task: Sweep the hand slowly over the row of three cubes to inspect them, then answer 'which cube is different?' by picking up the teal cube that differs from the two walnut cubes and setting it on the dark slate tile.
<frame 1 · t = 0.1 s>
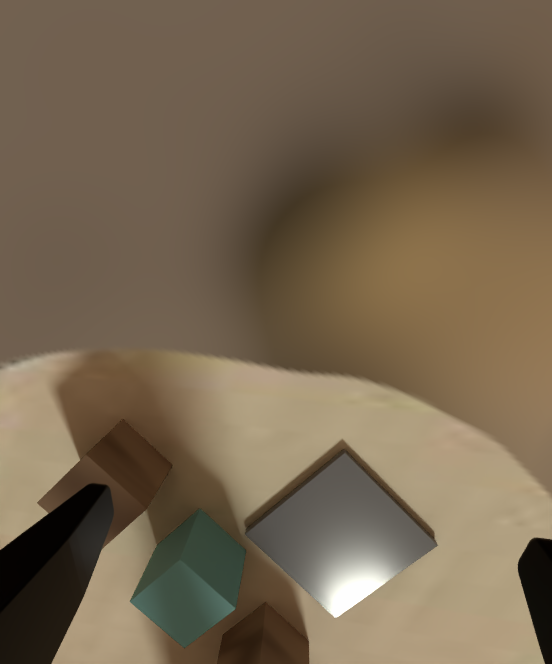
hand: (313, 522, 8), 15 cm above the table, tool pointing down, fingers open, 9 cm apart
slate tile: (339, 534, 26), on the table
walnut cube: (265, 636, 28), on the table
teal cube: (201, 547, 27), on the table
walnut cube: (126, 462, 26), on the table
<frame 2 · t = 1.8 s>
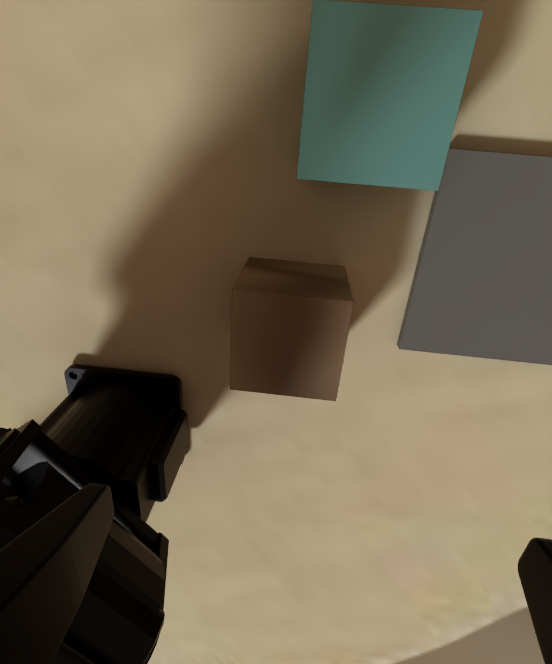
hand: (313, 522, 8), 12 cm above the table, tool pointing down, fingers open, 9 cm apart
slate tile: (519, 267, 17), on the table
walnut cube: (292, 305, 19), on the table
teal cube: (362, 113, 15), on the table
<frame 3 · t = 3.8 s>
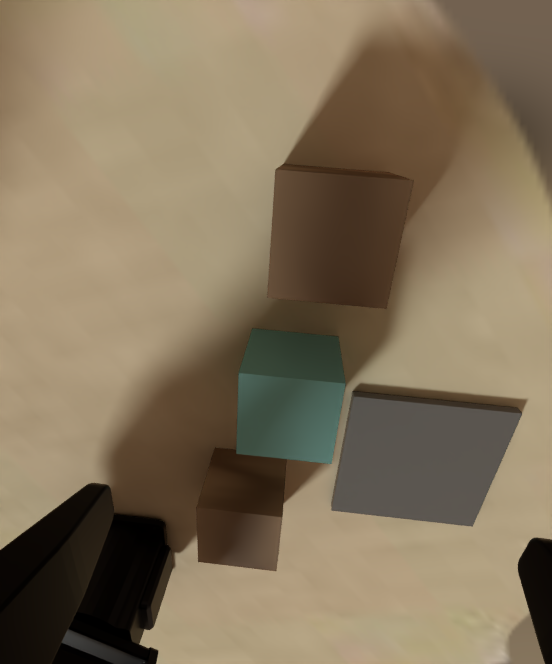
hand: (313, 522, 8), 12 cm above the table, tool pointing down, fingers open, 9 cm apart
slate tile: (415, 460, 23), on the table
teal cube: (291, 368, 21), on the table
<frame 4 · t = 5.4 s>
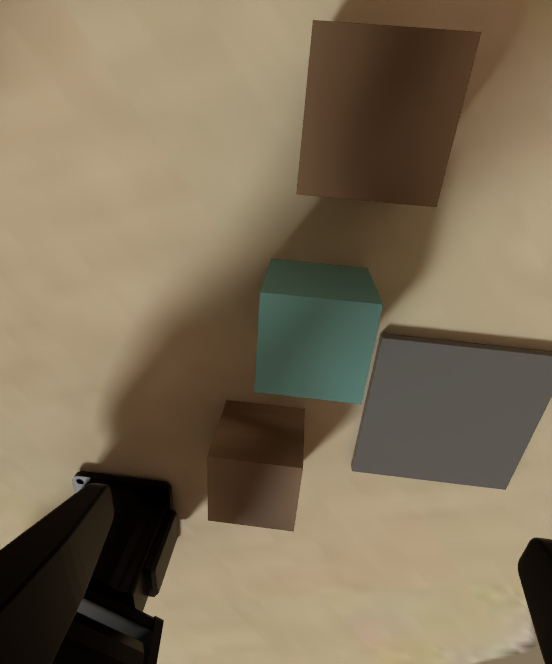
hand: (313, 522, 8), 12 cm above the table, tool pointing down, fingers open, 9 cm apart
slate tile: (446, 414, 21), on the table
teal cube: (313, 307, 19), on the table
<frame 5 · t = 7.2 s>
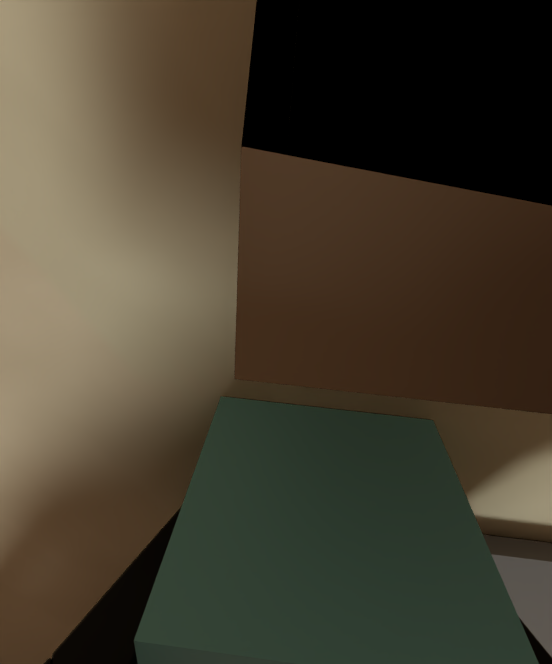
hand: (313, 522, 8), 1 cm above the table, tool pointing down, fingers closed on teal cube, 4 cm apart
teal cube: (313, 483, 9), on the table, touching gripper
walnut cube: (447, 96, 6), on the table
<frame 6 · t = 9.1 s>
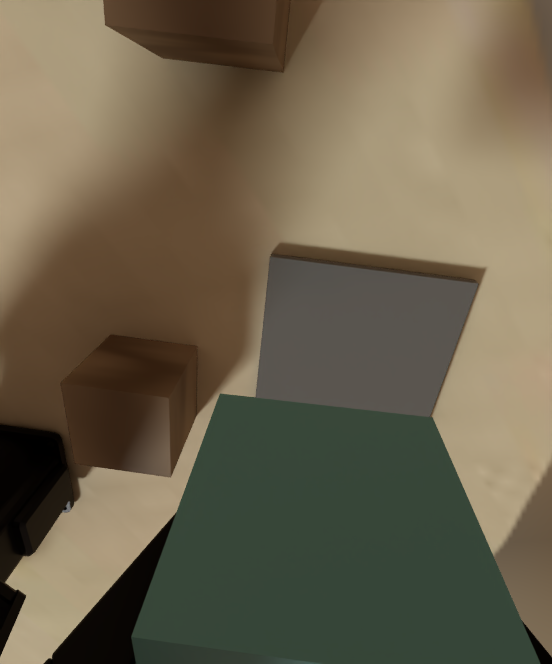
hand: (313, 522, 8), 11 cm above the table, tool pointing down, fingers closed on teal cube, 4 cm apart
slate tile: (351, 354, 19), on the table
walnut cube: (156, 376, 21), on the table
teal cube: (312, 481, 9), point 10 cm above the table, touching gripper
when the fingers open (3 cm above the table, at t = 11.1 s): teal cube drops 1 cm, resting on slate tile.
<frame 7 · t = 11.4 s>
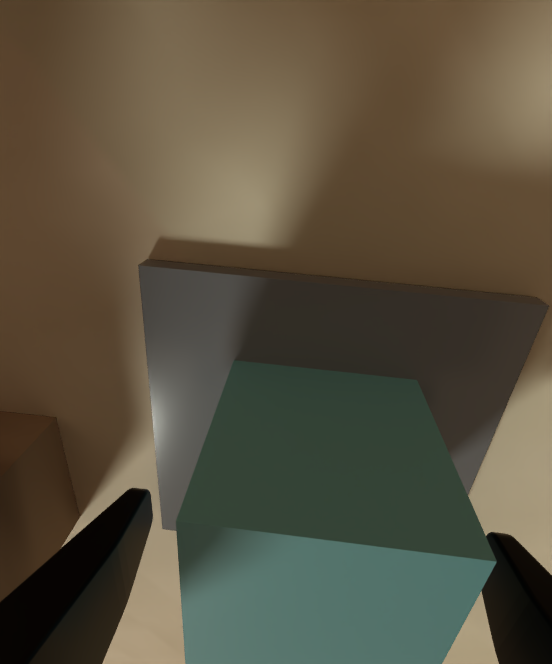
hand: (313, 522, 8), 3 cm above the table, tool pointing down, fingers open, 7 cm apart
slate tile: (314, 428, 11), on the table
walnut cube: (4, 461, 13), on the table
teal cube: (313, 439, 10), resting on slate tile
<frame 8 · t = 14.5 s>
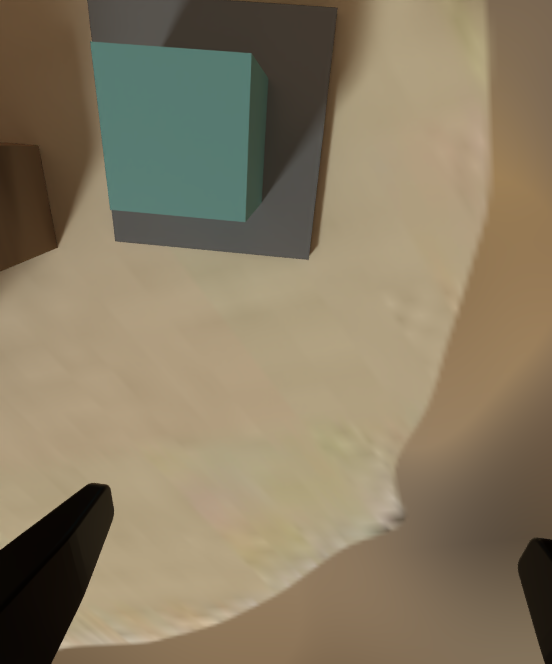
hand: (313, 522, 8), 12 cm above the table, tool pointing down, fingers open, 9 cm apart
slate tile: (213, 141, 16), on the table
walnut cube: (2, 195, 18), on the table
teal cube: (209, 139, 15), resting on slate tile
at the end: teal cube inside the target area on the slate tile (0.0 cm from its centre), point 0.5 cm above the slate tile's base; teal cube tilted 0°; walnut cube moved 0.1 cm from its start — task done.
